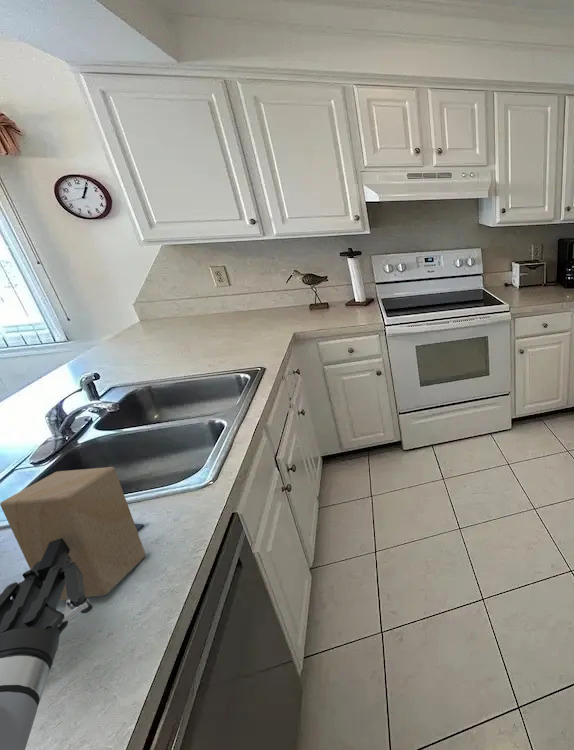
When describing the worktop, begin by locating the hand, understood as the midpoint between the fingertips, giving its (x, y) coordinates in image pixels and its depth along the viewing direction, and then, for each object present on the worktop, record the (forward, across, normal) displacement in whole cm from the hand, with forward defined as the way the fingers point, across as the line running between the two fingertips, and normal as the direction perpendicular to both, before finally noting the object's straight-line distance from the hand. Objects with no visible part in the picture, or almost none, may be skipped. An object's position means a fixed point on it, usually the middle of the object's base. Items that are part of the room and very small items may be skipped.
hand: (59, 546), depth 67 cm
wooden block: (+5, 0, -12) cm, 13 cm away
